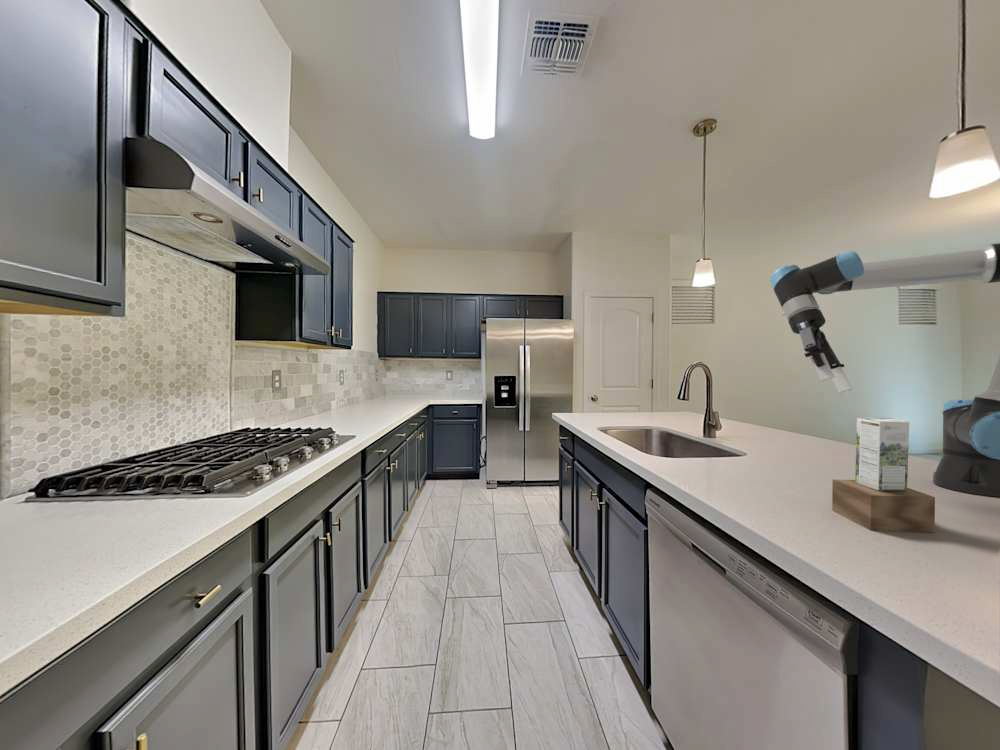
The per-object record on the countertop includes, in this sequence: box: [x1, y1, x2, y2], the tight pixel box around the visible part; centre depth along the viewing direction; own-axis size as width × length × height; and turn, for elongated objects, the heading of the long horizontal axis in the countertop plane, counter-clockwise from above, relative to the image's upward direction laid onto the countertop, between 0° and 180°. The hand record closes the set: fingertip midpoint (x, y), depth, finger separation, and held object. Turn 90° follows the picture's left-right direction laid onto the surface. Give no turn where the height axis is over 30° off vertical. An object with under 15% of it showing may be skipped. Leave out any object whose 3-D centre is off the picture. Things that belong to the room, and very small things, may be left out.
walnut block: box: [831, 479, 936, 534], centre depth 83 cm, size 11×11×7 cm
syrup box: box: [854, 417, 910, 491], centre depth 83 cm, size 6×6×14 cm
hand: (836, 385), depth 100 cm, fingers open, 13 cm apart
